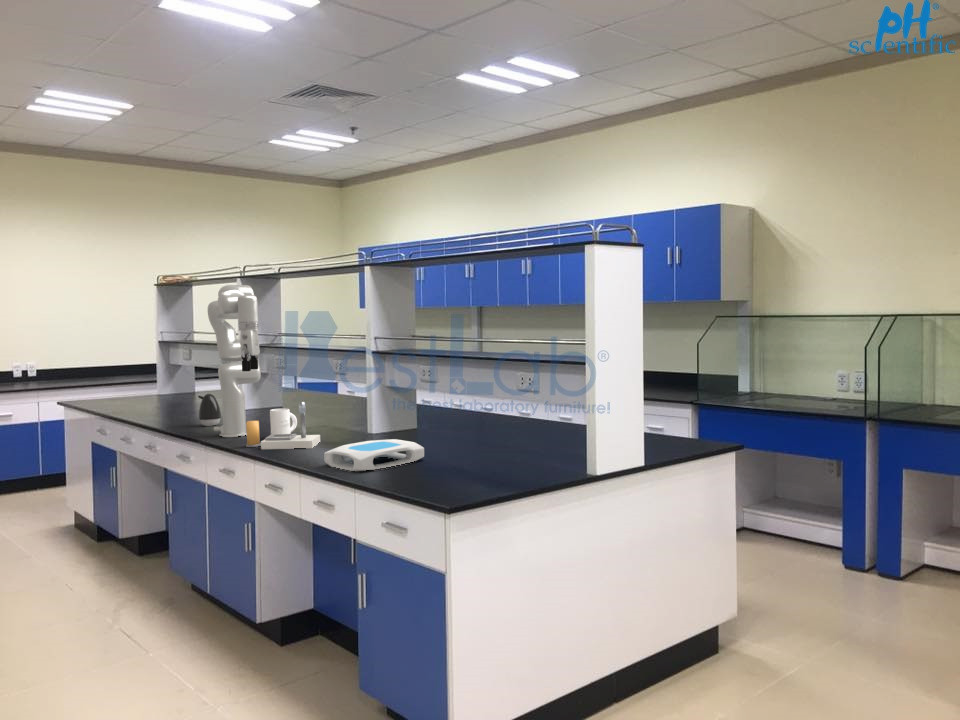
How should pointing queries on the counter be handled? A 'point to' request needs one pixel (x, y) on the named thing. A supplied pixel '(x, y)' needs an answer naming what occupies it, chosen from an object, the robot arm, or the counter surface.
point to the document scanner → (373, 454)
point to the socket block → (289, 441)
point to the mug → (282, 421)
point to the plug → (253, 434)
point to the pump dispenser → (209, 410)
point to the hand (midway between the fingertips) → (250, 370)
